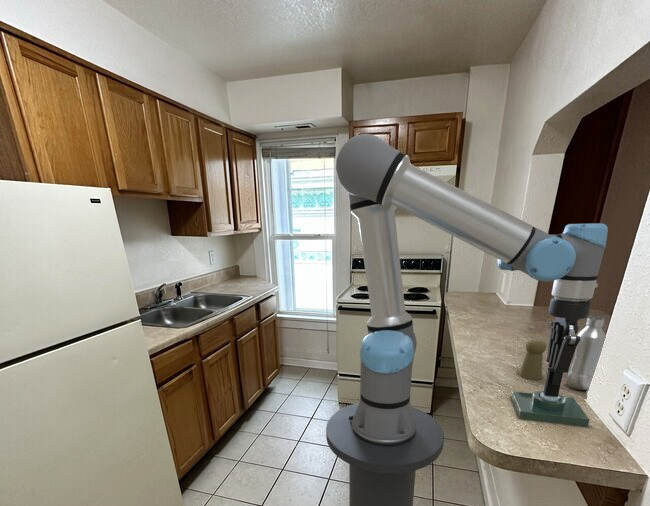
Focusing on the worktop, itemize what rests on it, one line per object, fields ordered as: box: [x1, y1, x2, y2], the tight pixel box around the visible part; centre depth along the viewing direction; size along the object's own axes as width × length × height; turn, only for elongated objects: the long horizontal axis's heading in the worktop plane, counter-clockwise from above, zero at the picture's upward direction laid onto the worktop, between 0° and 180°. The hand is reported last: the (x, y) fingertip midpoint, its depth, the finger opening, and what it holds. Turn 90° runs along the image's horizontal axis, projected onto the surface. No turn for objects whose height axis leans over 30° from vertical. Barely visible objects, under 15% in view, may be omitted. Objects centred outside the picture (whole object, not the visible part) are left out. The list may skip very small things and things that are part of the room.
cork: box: [518, 339, 547, 381], centre depth 105 cm, size 6×6×11 cm
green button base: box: [511, 390, 590, 428], centre depth 86 cm, size 14×11×4 cm
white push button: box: [540, 392, 559, 402], centre depth 86 cm, size 4×4×2 cm
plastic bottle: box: [566, 316, 607, 391], centre depth 95 cm, size 6×7×20 cm
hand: (550, 394), depth 85 cm, fingers closed
